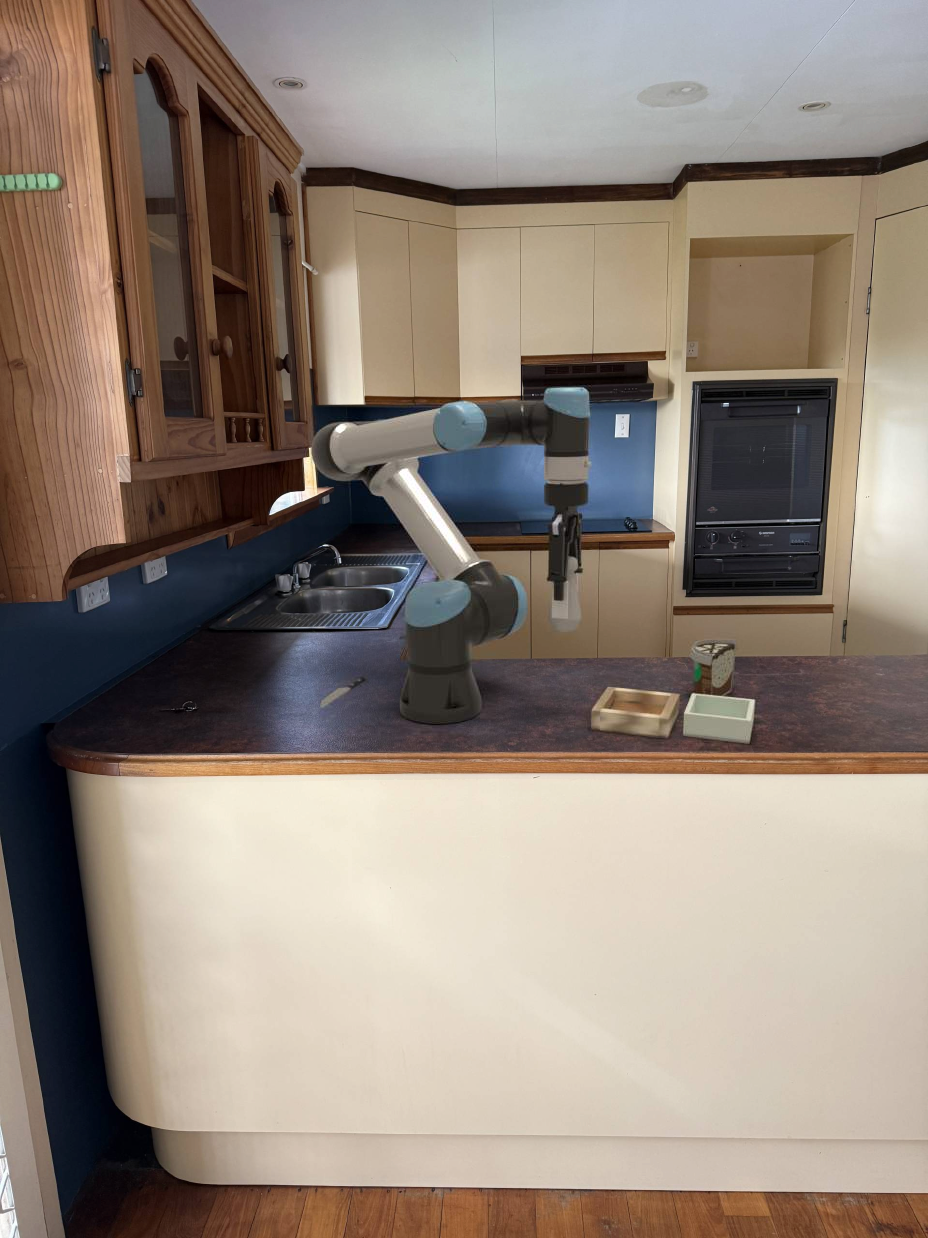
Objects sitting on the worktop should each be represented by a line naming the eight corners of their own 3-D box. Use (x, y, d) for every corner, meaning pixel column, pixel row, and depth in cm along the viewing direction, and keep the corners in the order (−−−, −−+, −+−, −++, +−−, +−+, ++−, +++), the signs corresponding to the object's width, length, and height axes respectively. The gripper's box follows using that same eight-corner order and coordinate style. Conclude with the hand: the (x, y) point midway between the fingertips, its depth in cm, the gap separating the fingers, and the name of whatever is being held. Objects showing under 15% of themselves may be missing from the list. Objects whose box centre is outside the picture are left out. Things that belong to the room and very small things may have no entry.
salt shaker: (557, 623, 152) (557, 552, 149) (586, 627, 149) (587, 555, 146) (543, 631, 147) (543, 558, 144) (573, 634, 144) (574, 561, 141)
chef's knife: (305, 711, 157) (318, 712, 156) (304, 705, 157) (317, 706, 156) (354, 680, 174) (367, 680, 173) (354, 674, 174) (366, 675, 173)
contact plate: (603, 721, 145) (603, 718, 144) (615, 703, 153) (615, 701, 153) (658, 728, 141) (658, 725, 141) (667, 709, 150) (667, 706, 149)
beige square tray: (591, 729, 144) (591, 710, 143) (607, 704, 155) (608, 686, 155) (667, 739, 139) (668, 719, 138) (678, 712, 151) (679, 694, 150)
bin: (682, 735, 140) (684, 713, 139) (691, 714, 150) (692, 693, 149) (749, 743, 136) (750, 720, 135) (753, 721, 146) (754, 699, 145)
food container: (704, 682, 166) (706, 634, 164) (734, 688, 162) (737, 639, 160) (677, 700, 157) (679, 649, 155) (708, 706, 153) (711, 654, 151)
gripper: (573, 487, 132) (571, 628, 138) (600, 476, 149) (598, 603, 155) (528, 486, 135) (528, 624, 141) (559, 476, 151) (558, 600, 157)
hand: (564, 613), depth 148 cm, fingers closed on salt shaker, 6 cm apart
